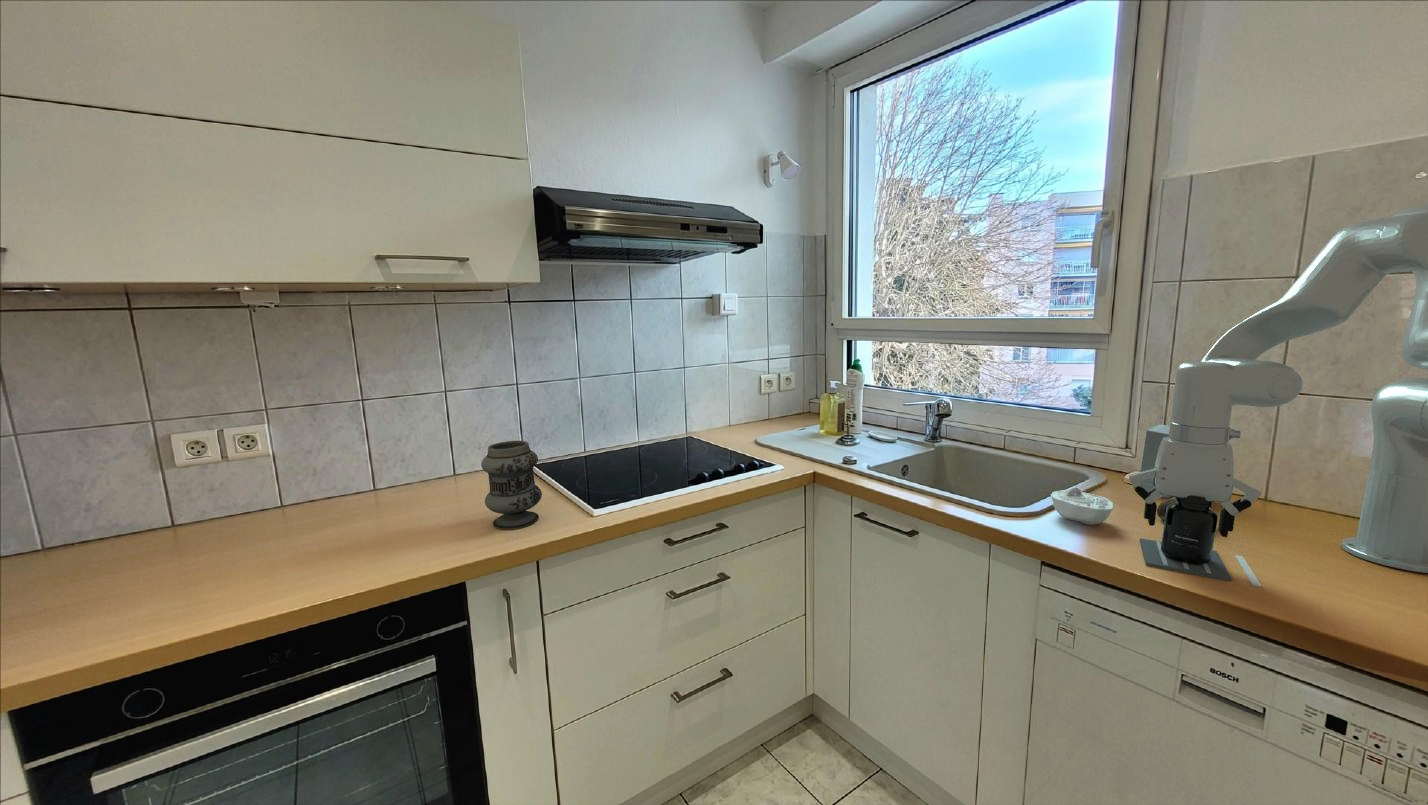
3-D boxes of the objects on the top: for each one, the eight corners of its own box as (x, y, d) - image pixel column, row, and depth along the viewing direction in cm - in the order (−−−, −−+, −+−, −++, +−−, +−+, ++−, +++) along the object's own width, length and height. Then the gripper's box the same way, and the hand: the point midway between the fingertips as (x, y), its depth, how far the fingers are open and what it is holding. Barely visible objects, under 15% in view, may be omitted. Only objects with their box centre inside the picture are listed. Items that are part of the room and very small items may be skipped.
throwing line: (1242, 557, 96) (1242, 556, 96) (1261, 587, 86) (1261, 585, 86) (1234, 556, 97) (1235, 555, 97) (1252, 585, 87) (1252, 583, 87)
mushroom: (1221, 518, 106) (1202, 488, 108) (1176, 530, 108) (1158, 500, 110) (1204, 523, 113) (1186, 495, 115) (1162, 535, 115) (1145, 506, 117)
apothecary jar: (512, 509, 129) (505, 436, 126) (554, 514, 125) (548, 439, 122) (475, 528, 118) (466, 449, 115) (519, 535, 114) (512, 452, 111)
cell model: (1084, 534, 107) (1087, 502, 106) (1037, 513, 119) (1039, 483, 118) (1126, 529, 109) (1130, 497, 108) (1076, 508, 121) (1079, 479, 120)
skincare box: (1148, 485, 135) (1155, 423, 132) (1184, 492, 129) (1192, 428, 127) (1135, 492, 130) (1142, 428, 128) (1172, 500, 125) (1180, 433, 122)
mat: (1216, 553, 98) (1216, 550, 98) (1231, 581, 88) (1231, 578, 88) (1139, 540, 104) (1139, 537, 104) (1145, 565, 94) (1146, 562, 94)
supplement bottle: (1175, 564, 93) (1184, 498, 91) (1151, 547, 100) (1159, 485, 98) (1221, 566, 92) (1231, 499, 90) (1194, 549, 98) (1202, 486, 96)
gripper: (1262, 435, 91) (1247, 531, 93) (1132, 425, 100) (1123, 512, 103) (1275, 444, 84) (1259, 547, 87) (1136, 433, 94) (1125, 526, 97)
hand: (1185, 528), depth 95 cm, fingers open, 9 cm apart
